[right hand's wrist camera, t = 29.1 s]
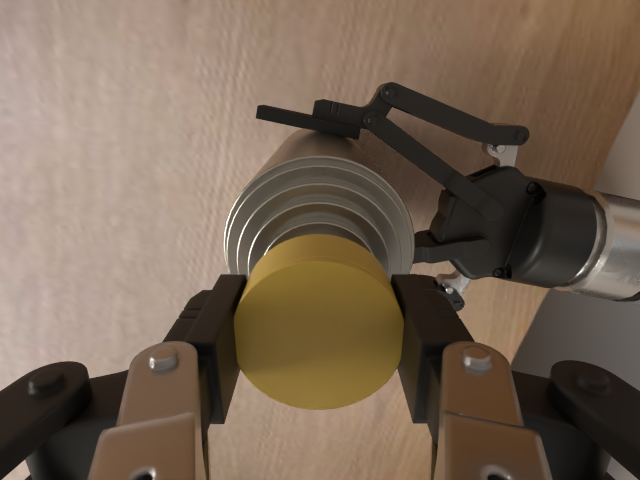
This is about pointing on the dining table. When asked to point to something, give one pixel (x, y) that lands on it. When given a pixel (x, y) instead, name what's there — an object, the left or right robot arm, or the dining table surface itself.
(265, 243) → the bottle
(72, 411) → the right robot arm
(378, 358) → the cap
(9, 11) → the dining table surface
